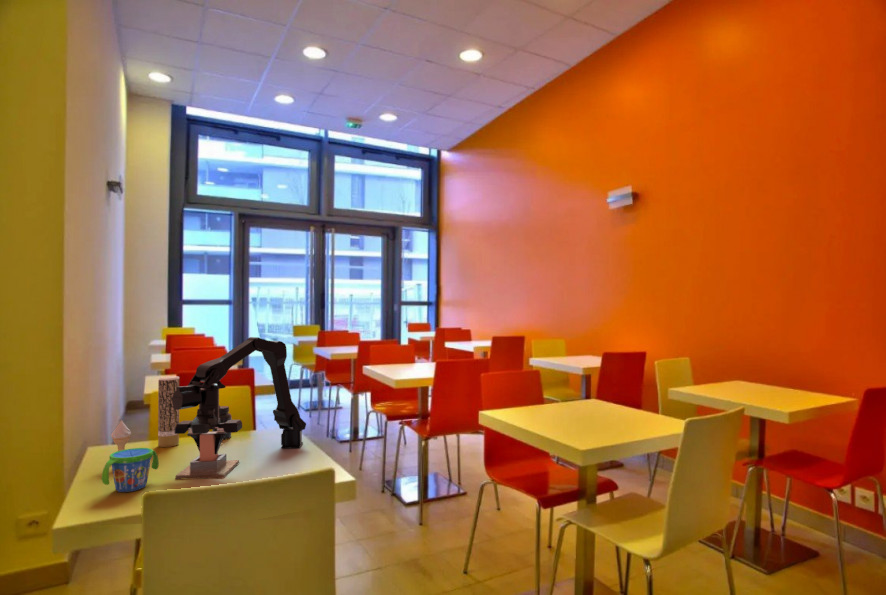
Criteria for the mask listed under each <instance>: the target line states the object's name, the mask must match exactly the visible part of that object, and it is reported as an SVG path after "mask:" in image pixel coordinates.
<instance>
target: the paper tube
mask: <svg viewBox="0 0 886 595" xmlns="http://www.w3.org/2000/svg"><path fill="white" fill-rule="evenodd" d="M157 381H158V394H157V396H158V398H157V399H158V400H157V404H158V409H157V410H158V412H157V415H158V418H157V419H158V420H157V425H158V426H157V427H158V430H157V433H158V434H157V437H158V438H157V439H158V440H157V441H158V442H157V445H158V447H160V448H170V447H175V446H177V445H179V443H180V434H175V426H176V425H177V424H178V423H180V410H176V409H175V408H174V406H173V404H172V397H173V394H174V392H175V391H176V387H178V386H180V376H175V375H171V376H162V377H158V380H157Z"/></svg>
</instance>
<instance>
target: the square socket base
mask: <svg viewBox="0 0 886 595" xmlns="http://www.w3.org/2000/svg"><path fill="white" fill-rule="evenodd" d="M238 463H239V464H240V460H239V459H231V460H230V459H229V460H228V459H227V453H218V459H216V460H215V461H200V454H199V455H198V456H197V457H196V458H194V459H192V460H191V461H190V463H189V465H188V466H186V467H185V468H184V469H183V470H181V471H180V472H178V473H177V474H175V480H182V479H181V478H193V479H223V478H222V477H224V478H225V477H226V476H227V475H228V474H230V472H232V471H233V470H234V469H235V468H236V467H237V466H238V465H239V464H238ZM237 464H238V465H237ZM235 466H236V467H235Z"/></svg>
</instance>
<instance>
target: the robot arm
mask: <svg viewBox="0 0 886 595" xmlns="http://www.w3.org/2000/svg"><path fill="white" fill-rule="evenodd" d="M254 352H260V353H261V354H262V356H263V360H264V361H265V362H266V364H267V365H268V366H269V368H270V373H271V379H272V383H273V388H274V392H275V393H274V394H275V398H276V403H277V404H276V407H275V409H273V410H272V414H273V416H274V417H273V418H274V419H273V420H274V421H276V424H277V425H278V427H279V429H280V430H282V433H281V434H280V438H281V439H280V445H281V449H299V448H301V447H302V445H303V444H304V442H303V439H302V438H303V430H305V429H306V427H307V422H305V421H304V420H303V419H302V417H301V414H300V412H299V409H298V408H297V406H296V404H294V402H293V400H292V396H291V391H290V390H291V389H290V385H289V382H288V376H287V370H286V366H285V364H286V360H287V357H288V356H287V355H288V354H287V345H286V343H284V342H283V341H281V340H267V339H263V338H261V337H258V336H257V337H254V336H250V337H248V338H247V339H245V341H242V342H241V343H240V344H239V345H237V346H236V347H234V348H232V349H230V350H229V351H227V353H225V354H223V355H222V356H220V357H217V358H215V359H212V360H209V361H206V362H204V363H201V364H199V365H198V366H197V367H196V371H195V373H194V375H193V376H192V378H191V379H190V381H189V383H188V384H187V385H183V386H180V385H179V386H178V387H176V391H175V392H174V394H173V397H172V404H173V406H174V408H175V409H176V410H179V411H180V410H186V409H189V408H191V409H192V408H195V407H198V409H197V410H196V411H197V412H196V415H195V417H194V418H193V419H192V420H182V421H179V423H178V424H177V425H176V426H175V434H179V435H180V434H181V435H182V434H184V435H185V434H186V433H187V436H188V437H191V438H192V439H193V440H194V443H195V444H196V446H197V449H198V453H200V435H201V434H202V433H203V434H205V433H208V432H210V430H212V429H217V431H218V432H217V433H215V434H214V435H215V454H217V453H218V454H219V450H220V448H221V445H222V443H223V438H224V436H225V434H227V433H231V434H232V433H234V434H235V433H237V432H239V431H240V430H241V429H243V421H242V420H241V419H232V420H228V421H227V422H225V423H219V422H220V418H219V409H220V406H221V405H220V389H221V390H222V389H226V388H227V387H226V385H224V384H223V383H222V382H221V380H222V379H223V378H225V376H226V375H227V374H228V372H229V370H230V369H231V368H232V367H233V366H235V365H237V364H238V363H239V362H241V361H242V360H244V359H245V358H247V357H248V356H249V355H251V354H252V353H254Z"/></svg>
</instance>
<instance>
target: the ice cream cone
mask: <svg viewBox="0 0 886 595" xmlns="http://www.w3.org/2000/svg"><path fill="white" fill-rule="evenodd" d="M110 436H111V438H112V440H113V443H114V444H115V445H116V446H117V451H121V450H125V447H126V445H127V443H128V442H129V440H130V437H131V436H132V431H131V430H130V429H129V428H128V426H127V425H126V424H125V422H124V421H123V419H120V421H119V423H118V424H117V426H116V428H115V429H114V430H113V431H112V433H111V434H110Z"/></svg>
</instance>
